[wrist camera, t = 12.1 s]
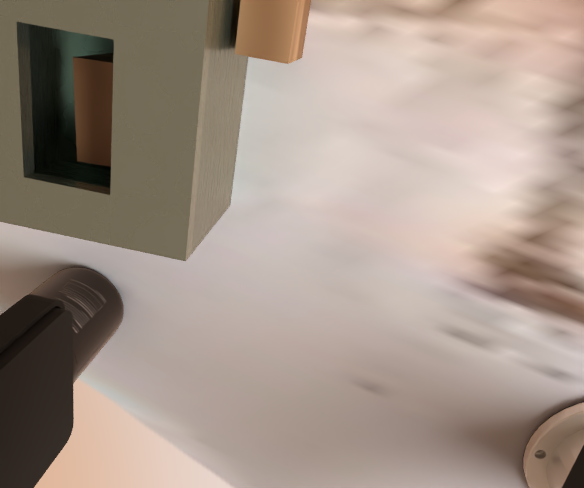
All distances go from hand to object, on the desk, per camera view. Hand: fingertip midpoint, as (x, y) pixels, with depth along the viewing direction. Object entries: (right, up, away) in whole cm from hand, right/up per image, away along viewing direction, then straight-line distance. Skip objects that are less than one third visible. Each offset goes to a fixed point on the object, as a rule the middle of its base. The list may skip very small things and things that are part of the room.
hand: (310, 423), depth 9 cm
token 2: (-1, +18, +23) cm, 30 cm away
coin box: (-11, +14, +27) cm, 32 cm away
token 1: (-11, +13, +27) cm, 31 cm away
